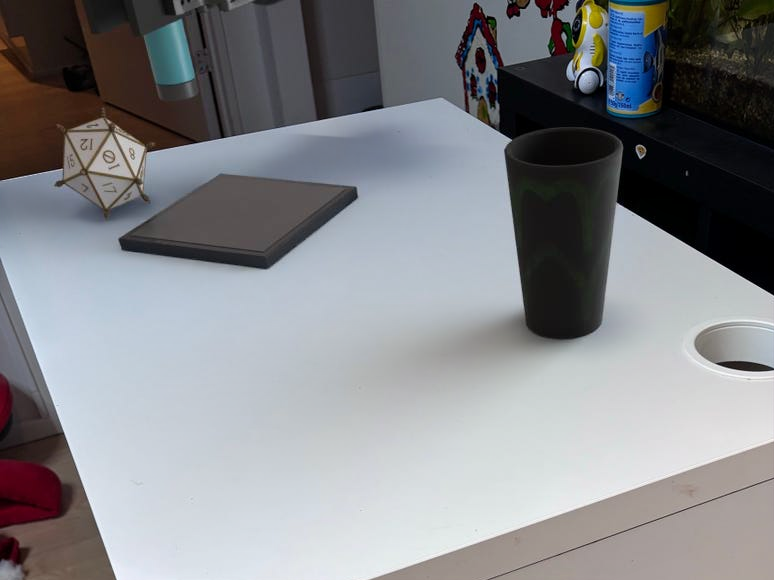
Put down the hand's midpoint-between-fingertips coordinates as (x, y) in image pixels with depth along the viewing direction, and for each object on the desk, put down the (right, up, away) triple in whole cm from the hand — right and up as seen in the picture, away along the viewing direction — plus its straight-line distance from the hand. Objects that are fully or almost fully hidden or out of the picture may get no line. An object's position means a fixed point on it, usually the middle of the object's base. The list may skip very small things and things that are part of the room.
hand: (110, 14), depth 75 cm
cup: (+33, -23, -1) cm, 41 cm away
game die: (-7, -6, +21) cm, 23 cm away
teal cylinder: (+3, -2, +8) cm, 9 cm away
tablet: (+6, -9, +16) cm, 19 cm away
